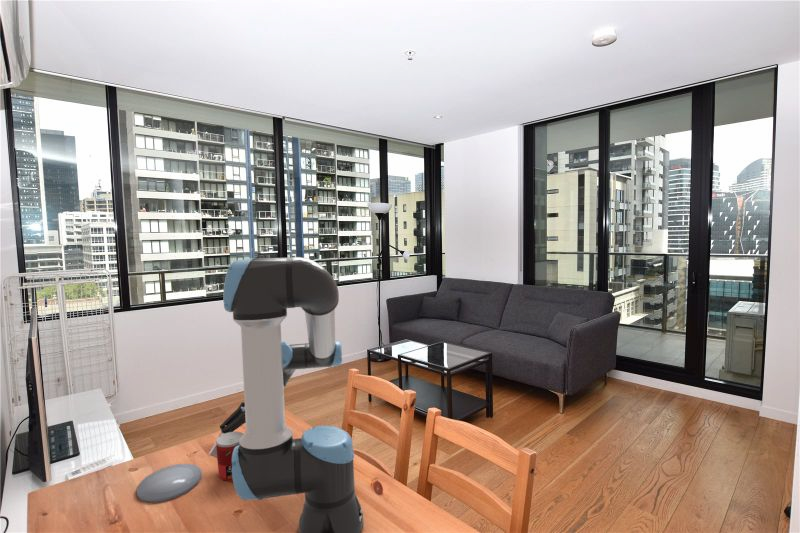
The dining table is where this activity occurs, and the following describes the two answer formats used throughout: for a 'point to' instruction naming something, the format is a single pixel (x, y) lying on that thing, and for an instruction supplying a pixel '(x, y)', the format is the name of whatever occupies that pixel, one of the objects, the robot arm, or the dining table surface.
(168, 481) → the slate plate
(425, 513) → the dining table surface
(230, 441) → the canned food
